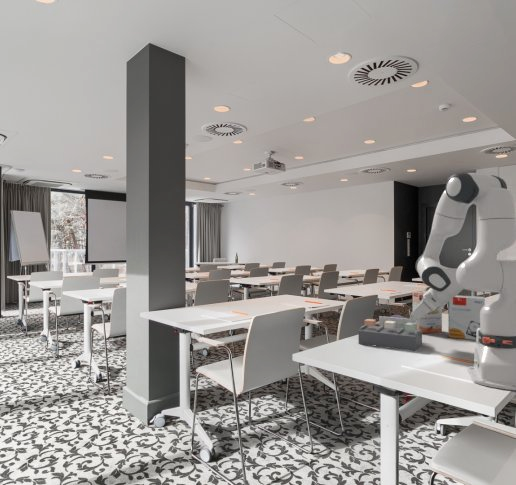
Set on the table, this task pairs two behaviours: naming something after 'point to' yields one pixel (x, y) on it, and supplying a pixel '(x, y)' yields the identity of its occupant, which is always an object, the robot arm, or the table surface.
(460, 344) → the table surface
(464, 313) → the hard drive box
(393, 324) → the cream key
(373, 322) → the terracotta key
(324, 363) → the table surface
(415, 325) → the sage key
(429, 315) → the cracker box
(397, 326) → the key console
